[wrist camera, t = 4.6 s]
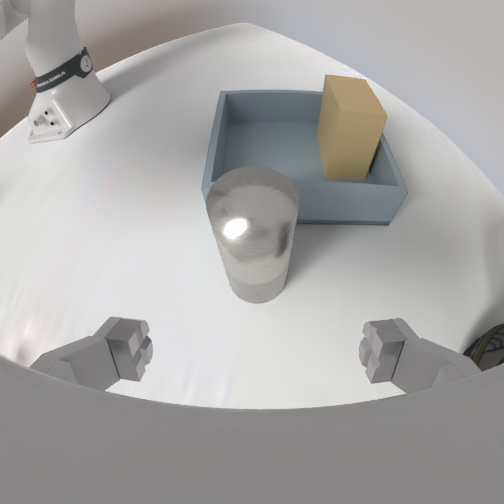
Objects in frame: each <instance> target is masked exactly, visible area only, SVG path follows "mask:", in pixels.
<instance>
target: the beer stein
mask: <svg viewBox="0 0 504 504" xmlns="http://www.w3.org/2000/svg"><path fill="white" fill-rule="evenodd" d="M463 355H464V356H467V357H469V358H470V359H471V360H472V361H473V362H474V363H475V364H476V365H477V367H478V368H479V369H480V370H481V371H482V372H483V371H485V370H488V369H491V368H493V367H496V366H498V365H501V364H503V363H504V324H501V325H498V326H495V327H494V328H492V329H491V330H489V331H488V332H487V333H486V334H484V335H483V336H482V337H481V338H479V339H477V340H476V341H475V342H474V343H473V344H472V345H471V346H470V347H469V348H468V349H467V350H466V351H465V352H464V354H463Z"/></svg>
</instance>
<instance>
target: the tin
mask: <svg viewBox="0 0 504 504" xmlns="http://www.w3.org/2000/svg"><path fill="white" fill-rule="evenodd" d="M298 208H299V195H298V192H297V189H296V187H295V186H294V184H293V183H292V181H291V180H290V179H289V178H287V177H286V176H285V175H284V174H282V173H280V172H278V171H276V170H274V169H271V168H267V167H262V166H246V167H240V168H237V169H234V170H231V171H229V172H227V173H226V174H224V175H222V176H221V177H220V178H219V179H217V180H216V181H215V183H214V184H213V185H212V186H211V188H210V190H209V192H208V195H207V199H206V209H207V213H208V216H209V219H210V223H211V226H212V229H213V233H214V236H215V239H216V242H217V246H218V249H219V252H220V255H221V258H222V262H223V265H224V268H225V271H226V274H227V277H228V280H229V283H230V286H231V288H232V290H233V292H234V293H235V294H236V295H237V296H238V297H239V298H241V299H242V300H244V301H246V302H250V303H265V302H268V301H270V300H272V299H274V298H275V297H277V296H278V295H279V294H280V293H281V291H282V290H283V288H284V285H285V282H286V277H287V272H288V266H289V261H290V255H291V250H292V244H293V238H294V232H295V227H296V221H297V215H298Z"/></svg>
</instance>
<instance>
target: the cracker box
mask: <svg viewBox="0 0 504 504" xmlns="http://www.w3.org/2000/svg"><path fill="white" fill-rule="evenodd" d="M386 119H387V115H386V113H385V111H384V109H383V108H382V106H381V104H380V103H379V101H378V99H377V98H376V96H375V94H374V93H373V91H372V89H371V88H370V86H369V85H368V83H367V82H366V80H364V79H358V78H351V77H343V76H334V75H325V81H324V88H323V96H322V103H321V110H320V117H319V123H318V130H317V136H316V137H317V141H318V145H319V150H320V155H321V159H322V164H323V169H324V174H325V178H329V179H350V180H364V179H365V177H366V174H367V172H368V169H369V166H370V164H371V161H372V158H373V156H374V153H375V150H376V147H377V145H378V142H379V139H380V136H381V133H382V130H383V128H384V125H385V122H386Z"/></svg>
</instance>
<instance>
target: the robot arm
mask: <svg viewBox="0 0 504 504" xmlns="http://www.w3.org/2000/svg"><path fill="white" fill-rule="evenodd" d="M74 11H75V0H0V40H2V39H3V38H4V37H5V36H6V35H7V34H8V33H9V32H11V31H12V30H13V29H14V28H15V27H17V26H18V25H19V24H21V23H22V22H23V21H24V20H26V19H27V18H28V23H29V24H28V25H29V26H28V27H29V28H28V37H27V39H26V42H25V46H24V49H25V53H26V55H27V57H28V60H29V62H30V64H31V66H32V68H33V71H34V73H35V75H36V77H35V80H34V81H33V82H32V83H34V84H33V85H32V87H31V88H33V87H34V86H35V85H36V91H37V95H36V97H35V99H34V102H33V105H32V107H31V110H30V112H29V115H28V119H29V123H30V125H31V127H32V129H33V130H32V131H31V133H30V135H29V138H28V141H29V143H37V142H43V141H50V140H57V139H64V138H66V137H67V136H68V135H70V134H71V133H72V132H73V131H74V130H75V129H76V128H78V127H79V126H81V125H83V124H84V123H86V122H87V121H89V120H90V119H92V118H93V117H94V116H96V115H97V114H98V113H99V112H100V111H101V110H102V109H103V108H104V107H105V106H106V105H107V104H108V102H109V101H110V98H111V95H110V93H109V92H108V91H107V90H106V89H105V88H104V86H103V85H102V84H101V82H100V81H99V79H98V77H97V76H96V74H95V72H94V70H93V67H92V63H91V59H90V57H89V54H88V52H87V49H86V47H83V44H82V41H81V38H80V35H79V32H78V29H77V25H76V21H75V13H74ZM32 83H31V84H32ZM31 84H30V85H31ZM148 332H149V327H148V323H147V322H146V321H145V320H137V319H128V318H121V317H110V318H109V319H108V320H107V321H106V322H105V323H104V324H103V325H102V326H101V327H100V329H99V330H98V331H97V332H96V333H95V334H94V335H93V336H88V337H85V338H83V339H80V340H78V341H75V342H73V343H70V344H68V345H65V346H62V347H60V348H57V349H55V350H52V351H49V352H47V353H44V354H42V355H41V356H40V357H39V358H38V359H37V360H36V361H35V362H34V363H33V364H32V365H31V366H30V367H29V368H28V367H25V366H23V365H20V364H18V363H16V362H13V361H11V360H9V359H6V358H4V357H2V356H0V504H504V363H503V364H501V365H498V366H496V367H493V368H491V369H488V370H485V371H483V372H482V371H481V370H480V369H479V368H478V367H477V365H476V364H475V363H474V362H473V361H472V360H471V359H470V358H469V357H467V356H464V355H462V354H459V353H457V352H455V351H452V350H450V349H447V348H445V347H442V346H440V345H438V344H435V343H433V342H430V341H428V340H426V339H423V338H421V339H419V337H418V336H417V335H416V334H415V333H414V332H413V330H412V329H411V328H410V327H409V326H408V324H407V323H406V322H405V321H404V320H403V319H401V318H396V319H389V320H381V321H371V322H366V323H365V325H364V328H363V334H364V335H365V337H364V338H363V339H362V341H361V342H360V347H359V358H360V361H361V364H362V365H363V366H365V367H366V368H367V369H366V374H367V377H368V379H369V381H370V383H371V384H372V383H380V382H387V381H391V382H392V383H393V384H395V385H396V386H397V387H399V388H400V389H401V390H403V391H404V392H405V393H407V394H404V395H399V396H394V397H389V398H384V399H378V400H372V401H366V402H359V403H352V404H344V405H335V406H325V407H312V408H296V409H228V408H211V407H199V406H189V405H180V404H172V403H164V402H158V401H151V400H145V399H140V398H134V397H129V396H124V395H119V394H115V393H110V392H106V391H104V390H106V389H107V388H109V387H110V386H112V385H113V384H114V383H116V382H117V381H119V380H120V379H125V380H132V381H139V382H140V380H141V378H142V376H143V375H144V373H145V371H146V370H145V365H147V364H149V363H150V361H151V359H152V354H153V345H152V340H151V339H150V338H149V337H148V336H147V334H148Z"/></svg>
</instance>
